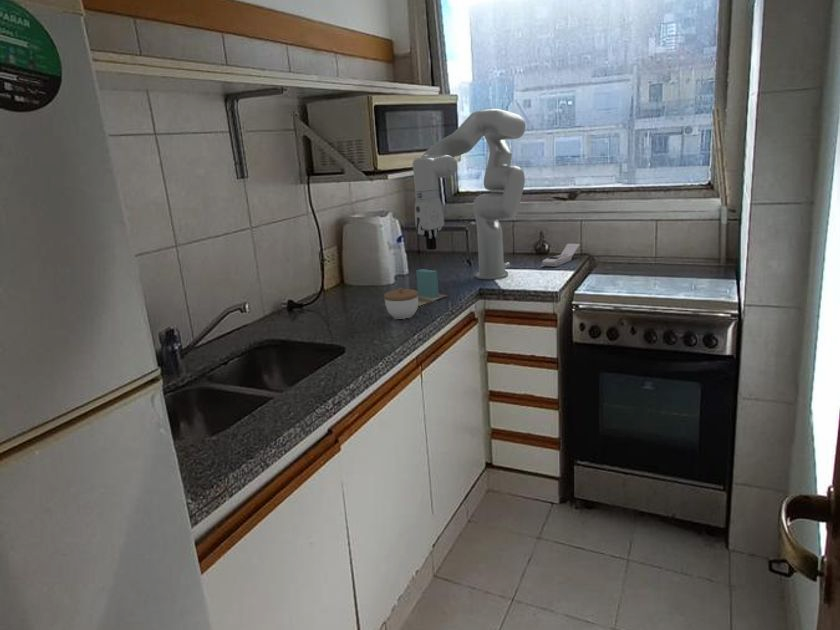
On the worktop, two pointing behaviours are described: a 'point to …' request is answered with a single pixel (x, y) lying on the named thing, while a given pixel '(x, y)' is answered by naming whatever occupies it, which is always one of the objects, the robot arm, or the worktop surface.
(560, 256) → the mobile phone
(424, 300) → the mat
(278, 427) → the worktop surface
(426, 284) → the tile
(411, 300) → the lidded jar
